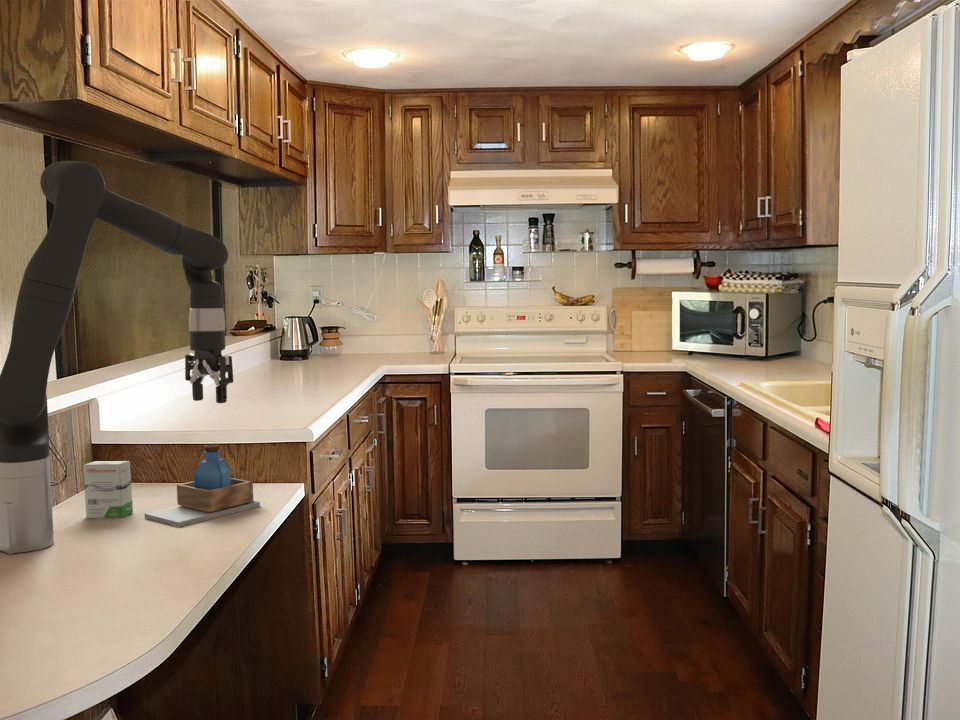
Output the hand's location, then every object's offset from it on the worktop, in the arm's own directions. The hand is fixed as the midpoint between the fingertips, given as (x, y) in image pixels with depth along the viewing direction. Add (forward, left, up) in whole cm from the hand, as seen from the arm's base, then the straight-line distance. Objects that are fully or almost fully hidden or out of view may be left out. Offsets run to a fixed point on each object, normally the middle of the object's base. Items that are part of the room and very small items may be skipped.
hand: (209, 401), depth 193 cm
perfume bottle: (0, 0, -22) cm, 22 cm away
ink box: (-16, +14, -25) cm, 33 cm away
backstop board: (-3, -1, -24) cm, 24 cm away
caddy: (0, -1, -23) cm, 23 cm away
